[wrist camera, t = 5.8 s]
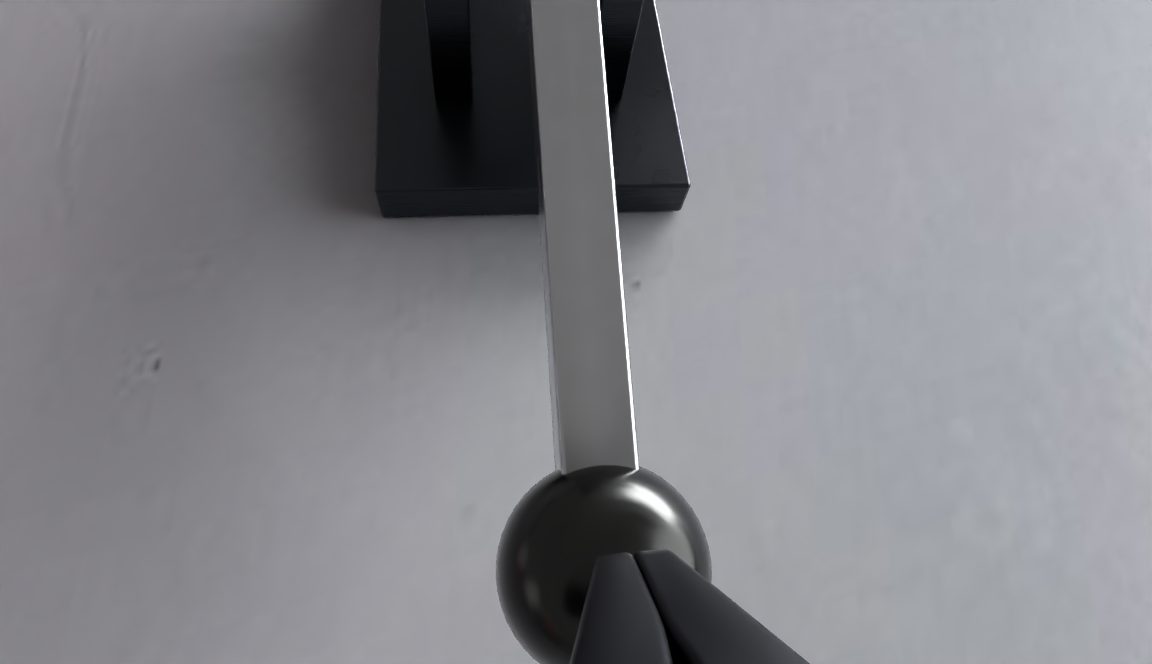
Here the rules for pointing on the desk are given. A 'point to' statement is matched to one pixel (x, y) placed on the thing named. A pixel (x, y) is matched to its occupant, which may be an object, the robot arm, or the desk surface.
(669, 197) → the bracket
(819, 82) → the desk surface
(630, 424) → the lever
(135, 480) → the desk surface
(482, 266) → the desk surface
